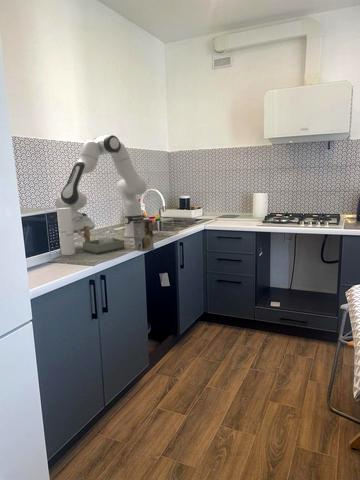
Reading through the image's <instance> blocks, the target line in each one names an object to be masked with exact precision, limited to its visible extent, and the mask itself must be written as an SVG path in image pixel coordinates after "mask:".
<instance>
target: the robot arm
mask: <svg viewBox="0 0 360 480" xmlns="http://www.w3.org/2000/svg"><path fill="white" fill-rule="evenodd" d="M101 155H110V156H111V159H112V162H113V164H114V168H115V169H116V172H117V174H118V175H119V176H120V177H122V179H120V180H119V181H117V184H116V190H117V192H118V193H119V194H120V195H121V198H122V202H123V207H124V225H125V226H124V227H125V228H124V233H123V236H124V238H134V226H133V222H135V221H140V220H145V219H147V214H146V215H145V214H142V204H141V202H140V200H139V199H138V197H137V196H141V195H142V194H145V193H146V192H147V189H148V184H147V182H146V181H145V179H143V178H142V177H141V176H140V175H139V174H138V172H137V170H136V169H135V168H134V165H133V163H132V159H131V156H130V154H129V152H128V150H127V148H126V145H124V143H123V142H121V141H120V140H119V138H118V137H117V136H116V135H113V134H108V135H107V134H106V135H101V136H98V137H95V138H93V139H88V140H85V142H84V144H83V145H82V148H81V151H80V152H79V155H78V159H77V162H76V163H75V164H73V165H74V166H73V167H72V169H71V173H70V174H69V177H68V179H67V182H66V183H65V186H64V187H63V188H62V190H61V193H60V195H59V196H58V197H56V198H55V201H54V206H55V208H56V210H57V209H58V208H71V212H72V223H73V234H77V235H78V236H80V237H81V238H82V239H85V238H84V237H85V236H86V235H85V234H84V226H89V234H90V237H91V236H92V233H91V231H93V230H94V229H95V227H96V224H95V222H94V221H93V220H92V218H90V217H89V215H88V213H84V212H80V210H81V209H82V208H84V207H85V206H86V205H87V203H88V198H87V196H86V194H84V193H83V192H81V191H80V190H79V185H80V183H81V180H82V176H83V175H84V174H90V173H93V172H94V171H95V170H96V167H97V165H98V162H99V158H100V156H101ZM153 235H156V231H153Z"/></svg>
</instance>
